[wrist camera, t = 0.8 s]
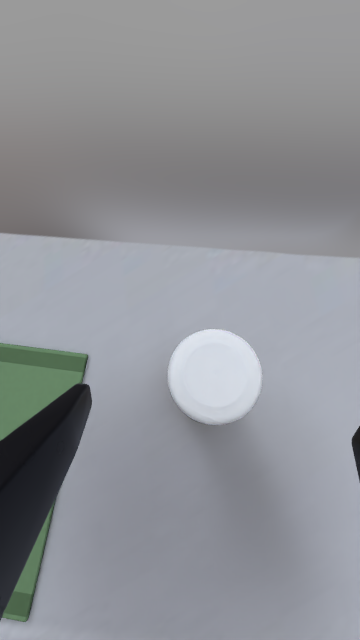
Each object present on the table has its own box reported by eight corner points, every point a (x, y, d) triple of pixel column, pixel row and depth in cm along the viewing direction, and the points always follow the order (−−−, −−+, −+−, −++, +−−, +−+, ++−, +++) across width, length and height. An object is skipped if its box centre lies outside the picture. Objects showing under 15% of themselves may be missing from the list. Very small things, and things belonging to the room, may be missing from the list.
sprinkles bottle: (237, 394, 26) (286, 377, 13) (200, 430, 25) (214, 449, 13) (202, 356, 27) (216, 308, 15) (166, 390, 27) (145, 370, 14)
